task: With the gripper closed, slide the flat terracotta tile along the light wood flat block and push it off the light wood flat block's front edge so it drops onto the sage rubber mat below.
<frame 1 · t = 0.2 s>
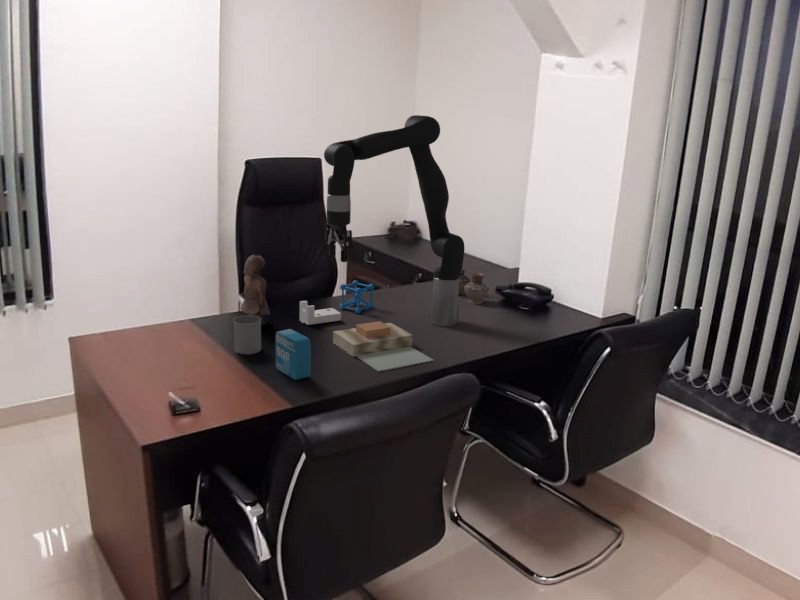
hand: (338, 258, 221), 28 cm above the table, tool pointing down, fingers open, 8 cm apart
cup: (247, 350, 217), on the table
light wood flat block: (372, 344, 226), on the table
bracket: (320, 322, 247), on the table
data package: (292, 374, 200), on the table
mat: (395, 359, 214), on the table
molecular structure: (356, 309, 263), on the table
clay figurine: (256, 325, 240), on the table
tile: (373, 329, 224), point 5 cm above the table, touching light wood flat block
pottery: (465, 298, 285), on the table
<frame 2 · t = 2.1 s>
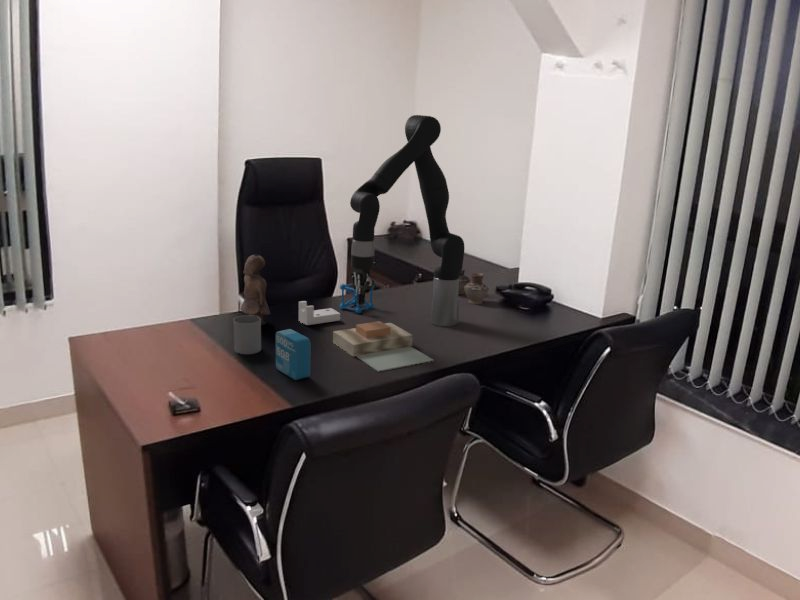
hand: (360, 303, 229), 12 cm above the table, tool pointing down, fingers closed
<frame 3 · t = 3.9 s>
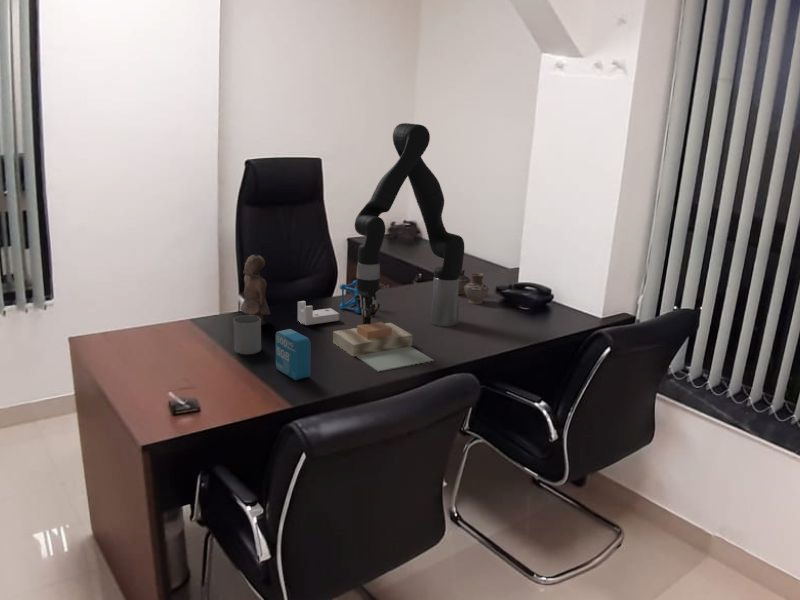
hand: (366, 326, 228), 5 cm above the table, tool pointing down, fingers closed
tile: (374, 330, 224), point 5 cm above the table
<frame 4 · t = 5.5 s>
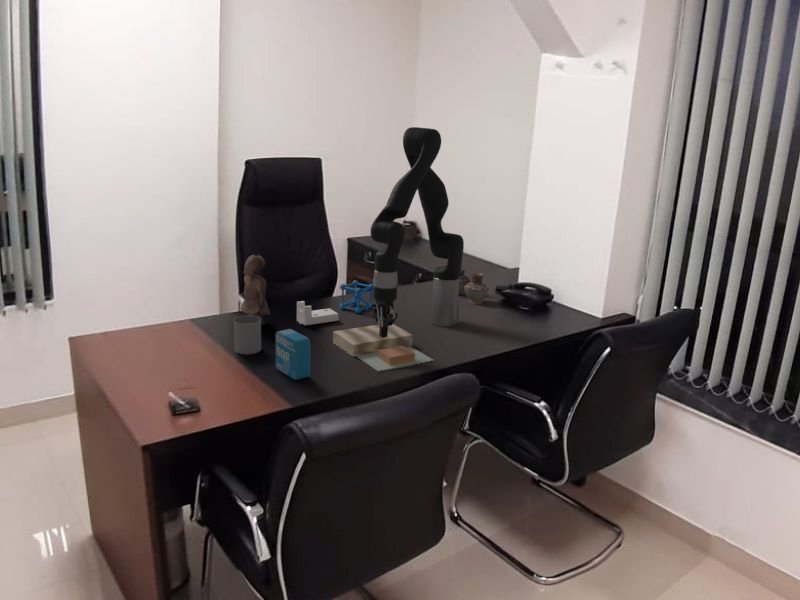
hand: (383, 336, 219), 5 cm above the table, tool pointing down, fingers closed
tile: (396, 355, 213), point 2 cm above the table, tilted 180°, touching mat
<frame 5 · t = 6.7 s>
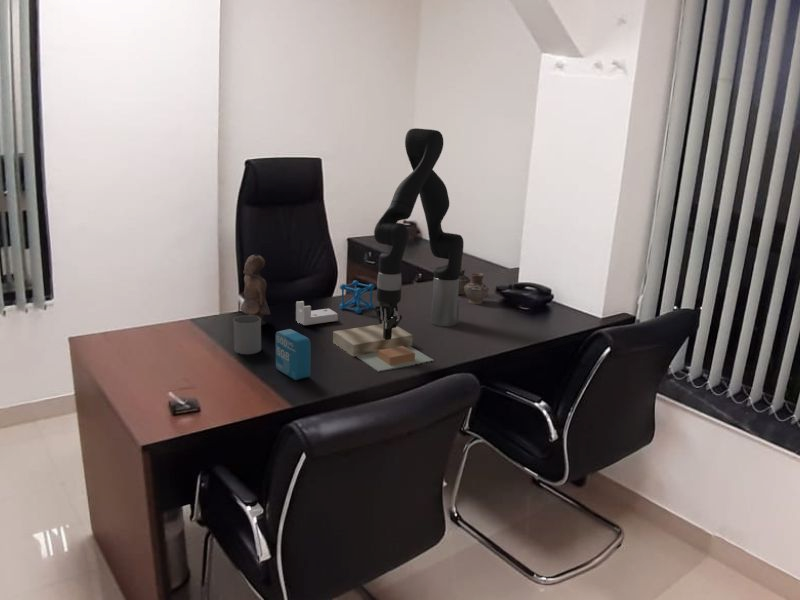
hand: (387, 338, 217), 5 cm above the table, tool pointing down, fingers closed
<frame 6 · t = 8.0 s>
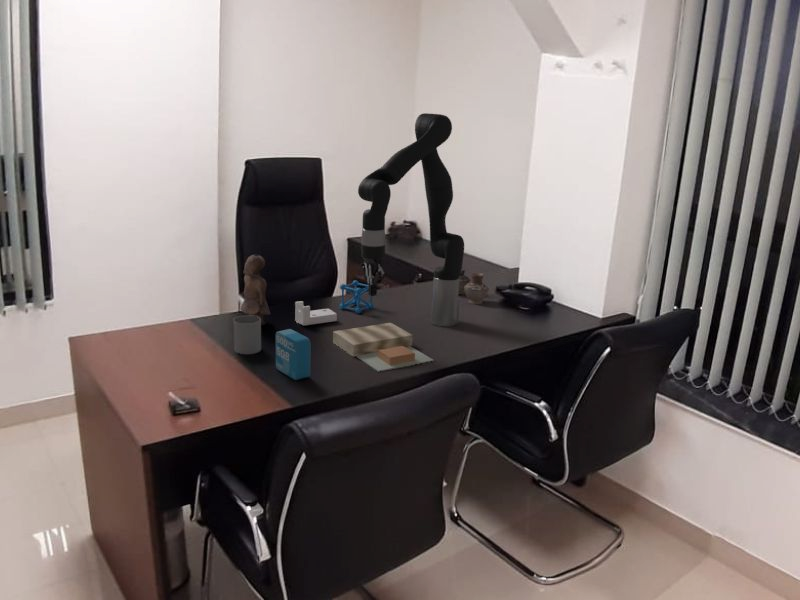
hand: (372, 295, 222), 17 cm above the table, tool pointing down, fingers closed
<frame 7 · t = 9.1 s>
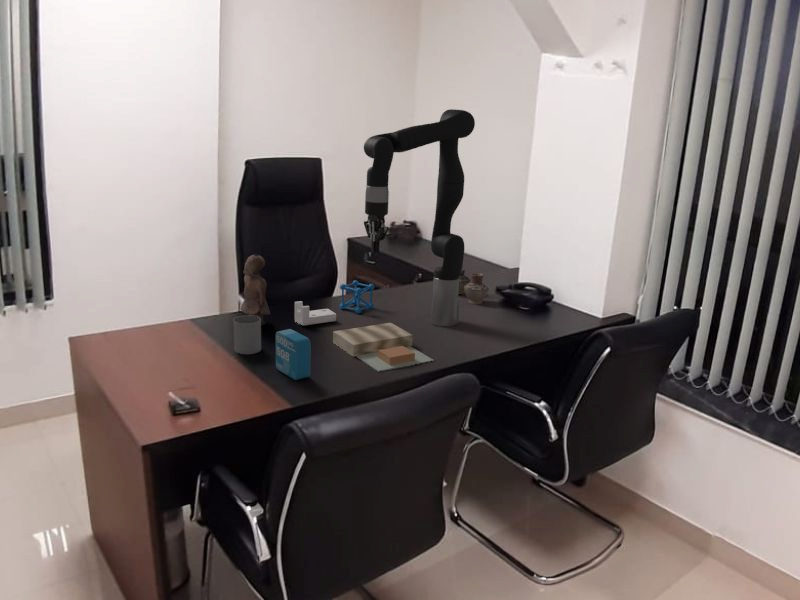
hand: (375, 251, 227), 29 cm above the table, tool pointing down, fingers closed
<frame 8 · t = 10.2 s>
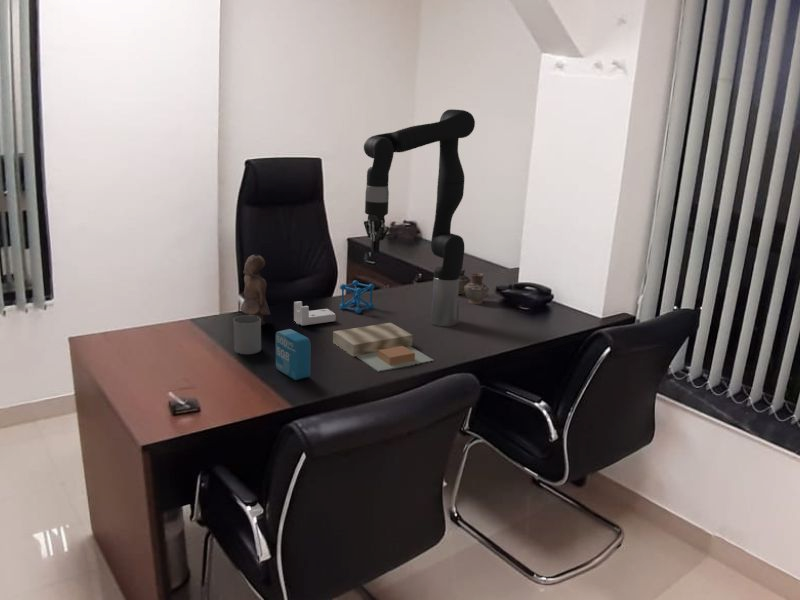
hand: (375, 251, 227), 29 cm above the table, tool pointing down, fingers closed
at the end: tile inside the target area on the mat (1.0 cm from its centre), point 1.6 cm above the mat's base; tile point 1.6 cm above the table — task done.
